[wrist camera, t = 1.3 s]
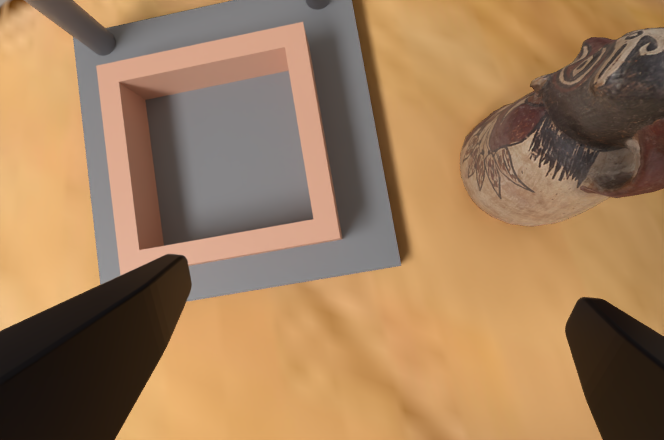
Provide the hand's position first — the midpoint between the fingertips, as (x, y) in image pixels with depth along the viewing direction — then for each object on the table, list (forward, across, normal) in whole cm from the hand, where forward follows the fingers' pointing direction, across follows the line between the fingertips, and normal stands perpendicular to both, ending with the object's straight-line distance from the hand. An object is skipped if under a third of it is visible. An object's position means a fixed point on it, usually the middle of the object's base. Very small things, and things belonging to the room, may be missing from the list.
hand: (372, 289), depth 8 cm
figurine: (+15, -9, +2) cm, 18 cm away
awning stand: (+15, +9, +2) cm, 17 cm away
